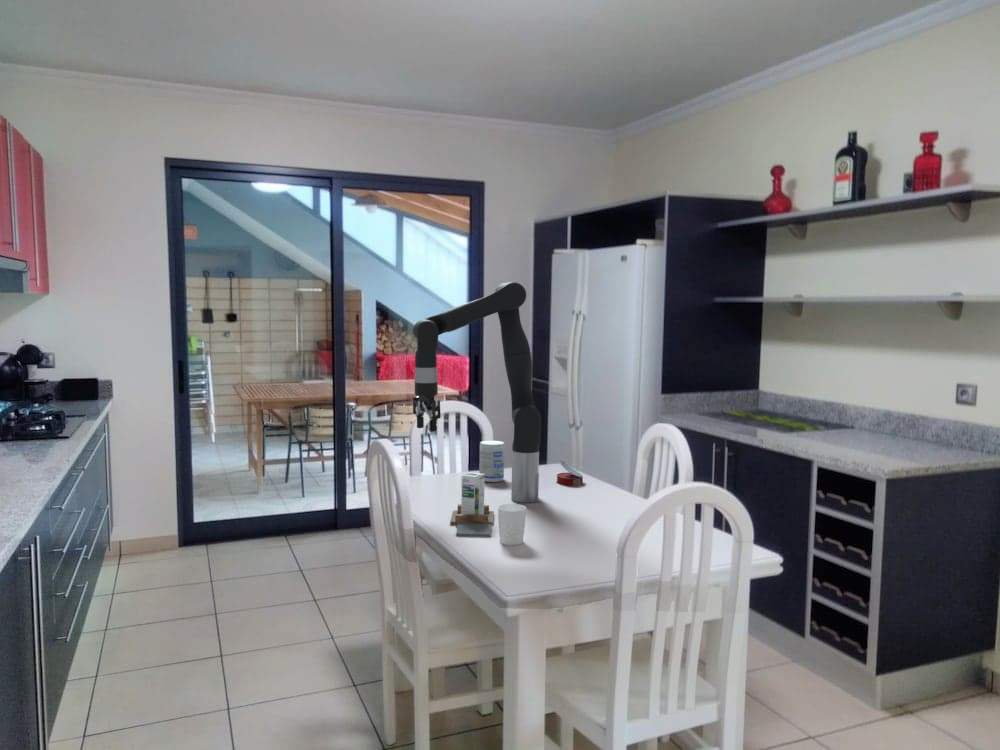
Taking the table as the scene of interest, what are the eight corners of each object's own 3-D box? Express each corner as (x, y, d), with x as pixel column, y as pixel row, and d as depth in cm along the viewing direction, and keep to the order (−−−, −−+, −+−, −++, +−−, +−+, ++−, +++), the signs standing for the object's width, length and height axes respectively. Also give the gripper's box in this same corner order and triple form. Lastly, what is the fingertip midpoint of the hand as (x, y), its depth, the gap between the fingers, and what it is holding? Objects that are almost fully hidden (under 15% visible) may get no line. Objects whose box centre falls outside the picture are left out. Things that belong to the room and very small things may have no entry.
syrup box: (460, 520, 226) (460, 475, 224) (467, 515, 231) (468, 471, 230) (477, 523, 224) (478, 476, 222) (484, 518, 229) (485, 472, 228)
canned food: (565, 491, 284) (572, 467, 287) (585, 493, 276) (591, 469, 279) (547, 481, 277) (554, 457, 280) (566, 484, 269) (573, 458, 272)
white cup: (498, 537, 211) (498, 503, 210) (525, 537, 210) (526, 504, 209) (497, 545, 203) (497, 510, 202) (525, 546, 202) (526, 511, 202)
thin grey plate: (491, 526, 220) (491, 523, 220) (490, 536, 210) (490, 534, 210) (458, 525, 220) (458, 523, 220) (456, 536, 211) (456, 533, 210)
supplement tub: (497, 484, 274) (498, 445, 273) (474, 481, 278) (475, 443, 276) (507, 478, 283) (508, 441, 281) (485, 476, 287) (486, 439, 285)
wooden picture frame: (493, 514, 234) (493, 505, 233) (492, 525, 221) (493, 516, 221) (453, 513, 234) (453, 504, 233) (450, 524, 221) (450, 515, 221)
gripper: (447, 381, 235) (447, 431, 236) (425, 378, 246) (425, 425, 248) (426, 383, 230) (427, 433, 232) (405, 379, 242) (406, 427, 244)
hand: (426, 429), depth 240 cm, fingers open, 8 cm apart
